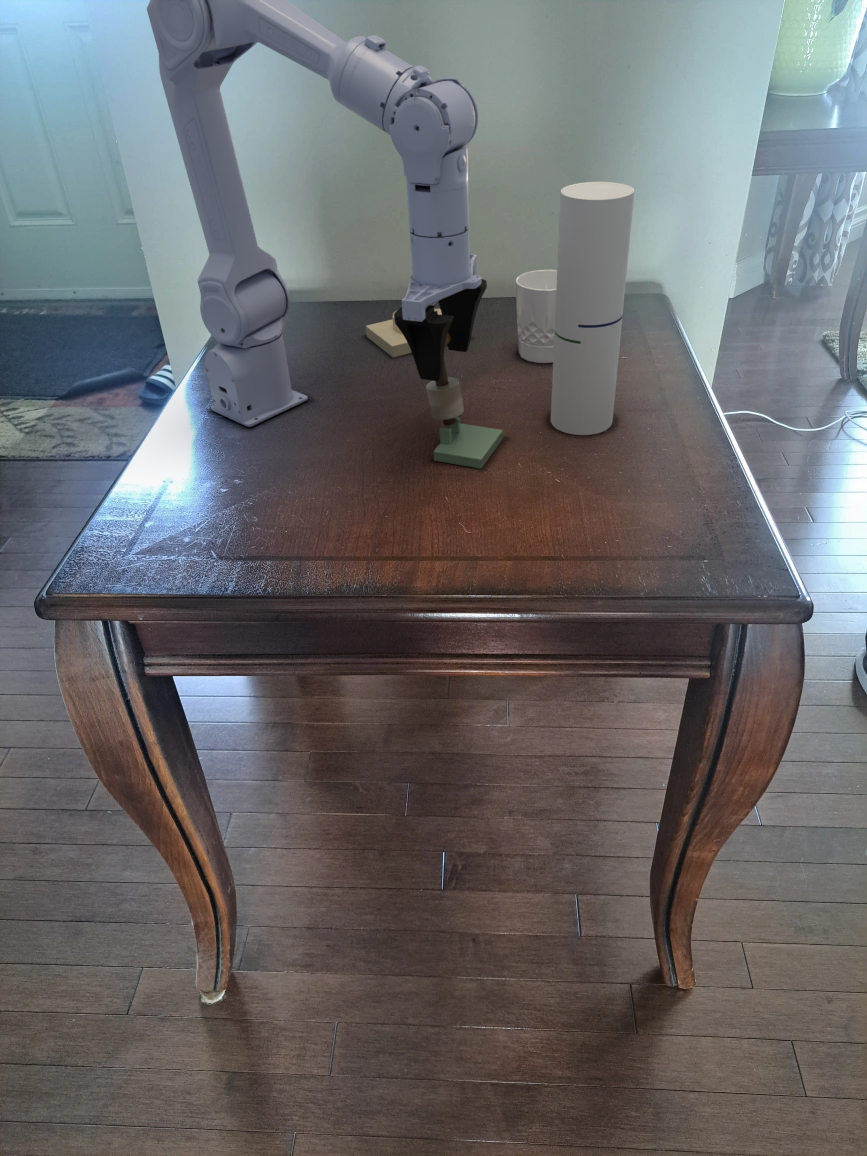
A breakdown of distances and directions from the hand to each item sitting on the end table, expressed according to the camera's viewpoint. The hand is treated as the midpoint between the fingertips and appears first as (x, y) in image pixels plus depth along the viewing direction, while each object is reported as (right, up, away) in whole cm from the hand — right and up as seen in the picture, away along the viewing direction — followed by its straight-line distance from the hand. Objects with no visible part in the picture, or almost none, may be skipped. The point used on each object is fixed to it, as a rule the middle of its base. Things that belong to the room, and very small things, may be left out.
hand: (444, 363), depth 87 cm
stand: (+3, -8, +5) cm, 10 cm away
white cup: (+14, +8, +25) cm, 30 cm away
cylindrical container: (+16, -4, +10) cm, 19 cm away
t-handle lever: (-2, -1, +2) cm, 3 cm away
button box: (-4, +12, +32) cm, 34 cm away
